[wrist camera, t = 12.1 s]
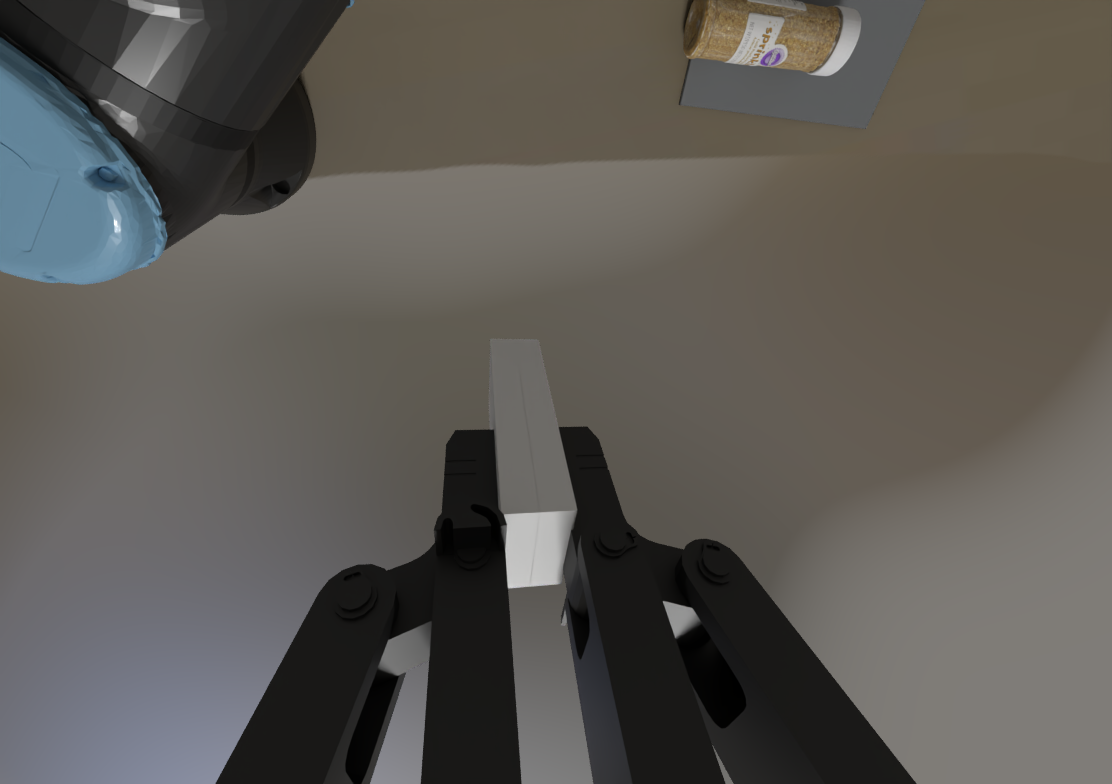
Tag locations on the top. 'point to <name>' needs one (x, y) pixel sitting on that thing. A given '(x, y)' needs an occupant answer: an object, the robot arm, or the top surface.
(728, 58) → the sprinkles bottle
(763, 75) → the mat
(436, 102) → the top surface
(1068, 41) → the top surface
